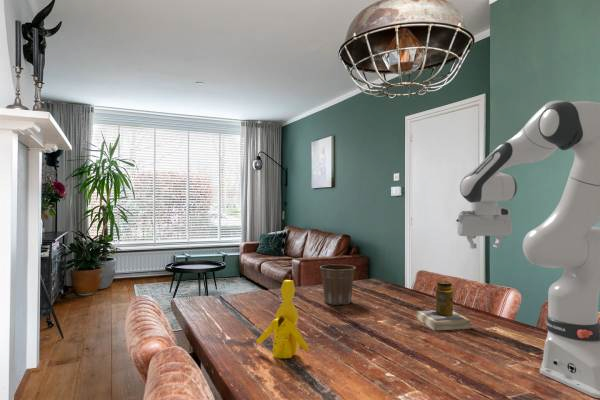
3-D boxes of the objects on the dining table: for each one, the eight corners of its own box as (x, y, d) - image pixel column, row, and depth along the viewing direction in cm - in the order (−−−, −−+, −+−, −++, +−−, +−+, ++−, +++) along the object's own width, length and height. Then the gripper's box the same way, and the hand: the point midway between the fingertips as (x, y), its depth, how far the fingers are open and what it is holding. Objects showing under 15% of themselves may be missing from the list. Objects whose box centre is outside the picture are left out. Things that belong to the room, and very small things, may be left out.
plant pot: (328, 296, 193) (327, 263, 193) (360, 300, 186) (360, 265, 186) (314, 304, 178) (314, 268, 178) (348, 308, 171) (348, 270, 171)
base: (470, 328, 144) (470, 318, 144) (434, 330, 142) (434, 320, 142) (450, 317, 158) (450, 308, 158) (416, 318, 156) (416, 310, 156)
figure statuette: (252, 354, 120) (252, 281, 120) (266, 346, 127) (265, 276, 127) (306, 365, 112) (306, 286, 112) (317, 355, 119) (317, 281, 119)
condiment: (457, 315, 149) (457, 282, 149) (443, 318, 144) (443, 285, 145) (441, 310, 155) (441, 279, 155) (426, 314, 151) (426, 282, 151)
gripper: (463, 210, 143) (464, 249, 142) (514, 210, 146) (515, 248, 146) (453, 210, 149) (454, 247, 149) (503, 210, 152) (503, 246, 152)
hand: (484, 248), depth 147 cm, fingers open, 8 cm apart
